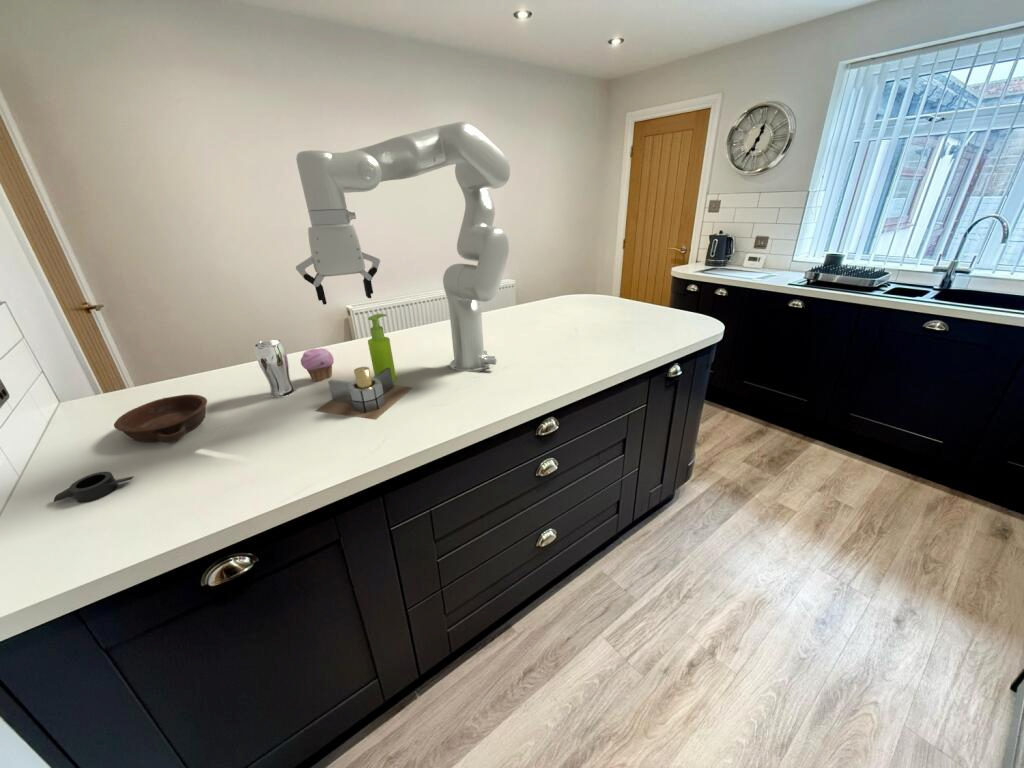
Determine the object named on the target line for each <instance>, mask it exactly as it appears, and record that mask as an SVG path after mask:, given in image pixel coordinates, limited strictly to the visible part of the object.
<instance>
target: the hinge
mask: <svg viewBox="0 0 1024 768" xmlns="http://www.w3.org/2000/svg"><path fill="white" fill-rule="evenodd" d="M371 380H372V385H373V386H372V387H369V388H365V389H358V387H357V383H356V380H354V381H347V380H342V379H341V380H339V379H330V378H329V380H328V381H327V382H328V385H329V386H328V387H329V392H330V394H331V398H332V399H333V401H334V402H342V403H350V404H353V407H354V410H355V411H356V412H363V413H365V412H371V411H375V410H378V409H380V408H381V407H382V406H384V405H385V399H384V395H385V394H386V393H387V392H388V391H390V390H391V389H392V388H394V386H393V385H394V380H392V375H391V369H390V368H386V369H384V370H383V371H381V372H380V373H378V374H377V375H376V376H375V375H374V376H373V377H371Z"/></svg>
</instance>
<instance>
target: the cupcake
mask: <svg viewBox="0 0 1024 768" xmlns="http://www.w3.org/2000/svg"><path fill="white" fill-rule="evenodd" d="M300 365H301V367H302V368H303V369H305V370H306V371H307V373H308V374H309V377H310V378H311V380H312V381H314V382H316V383H317V382H322V381H325V380H326V379H327V380H328V379H330V378H331V377H332V375H333V365H334V356H333V353H331V352H330V351H329V350H328V349H327V348H324V347H323V348H312V349H309V350H306V351H304V352H303V354H302V357H301V359H300Z"/></svg>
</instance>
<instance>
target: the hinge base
mask: <svg viewBox="0 0 1024 768" xmlns="http://www.w3.org/2000/svg"><path fill="white" fill-rule="evenodd" d="M393 386H394V388H392V389H391V390H390V391H388V392H387V393H386V394H385V395H384V399H385V405H384V406H382V407H381V408H380V409H378V410H375V411H371V412H365V413H363V412H356V411H355V410H354V407H353V404H350V403H342V402H334V401H333V399H330V400H329V401H327V402H326V403H324V404H323V405H320V407H318V408H317V409H315V410H314V412H320V413H325V414H326V413H327V414H334V415H341V416H348V417H356V418H361V419H368V420H375V421H376V420H377V419H379V418H380V417H381V416H382V415H383V414H384V413H386V412H387V411H388V410H389V409H390V408H391V407H392V406H394V405H395V404H396V403H397V402H398V401H400V400H401V398H403V397H404V396H405V395H406V394H408V393H410V391H411V390H413V389H414V387H413V386H404V385H395V384H393Z"/></svg>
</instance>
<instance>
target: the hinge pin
mask: <svg viewBox="0 0 1024 768" xmlns="http://www.w3.org/2000/svg"><path fill="white" fill-rule="evenodd" d="M353 372H354V377H355V378H354V379H355V381H356V383H357V387H358V389H365V388H369V387H372V386H373V385H372V380H371V378H372V377H371V372H370V367H367V366H360V367H356V368H355V369H354V370H353Z"/></svg>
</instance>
